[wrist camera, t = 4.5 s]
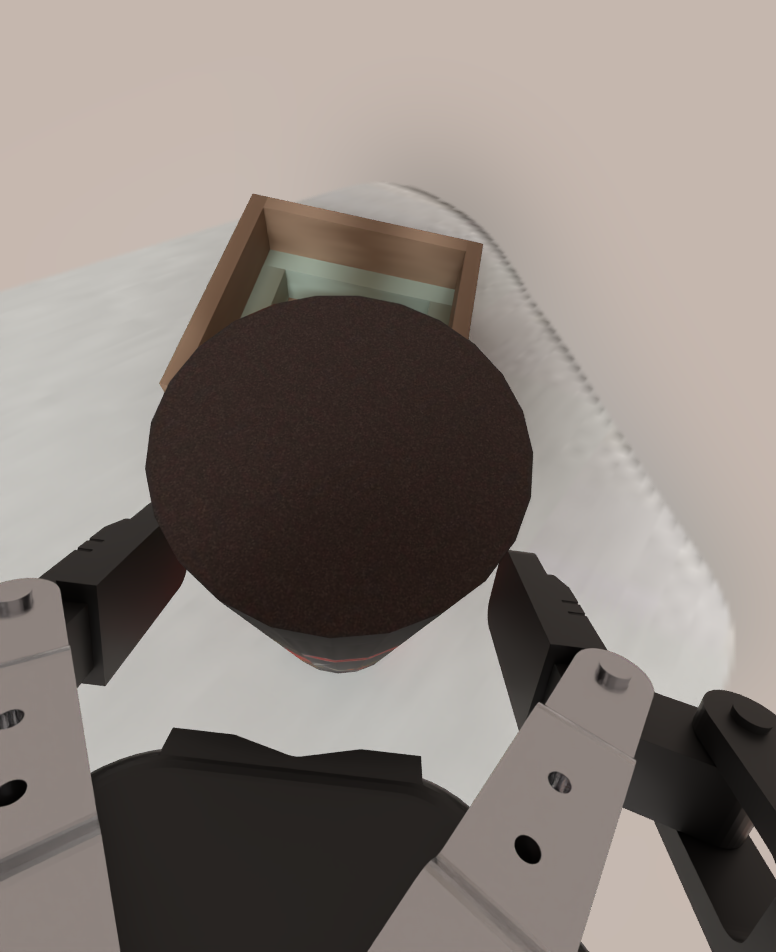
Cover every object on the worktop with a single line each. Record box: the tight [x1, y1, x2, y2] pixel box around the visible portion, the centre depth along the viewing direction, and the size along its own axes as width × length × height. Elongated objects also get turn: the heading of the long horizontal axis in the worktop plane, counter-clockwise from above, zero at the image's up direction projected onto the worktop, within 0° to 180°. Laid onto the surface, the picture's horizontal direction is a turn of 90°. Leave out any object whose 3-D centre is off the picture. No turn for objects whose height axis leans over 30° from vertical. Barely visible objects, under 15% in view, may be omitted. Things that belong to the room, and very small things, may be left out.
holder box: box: [159, 194, 483, 392], centre depth 24 cm, size 12×12×5 cm
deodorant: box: [145, 296, 533, 673], centre depth 14 cm, size 6×6×15 cm
